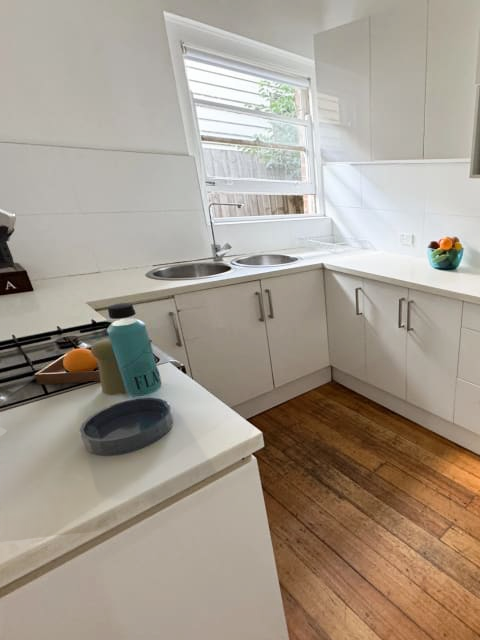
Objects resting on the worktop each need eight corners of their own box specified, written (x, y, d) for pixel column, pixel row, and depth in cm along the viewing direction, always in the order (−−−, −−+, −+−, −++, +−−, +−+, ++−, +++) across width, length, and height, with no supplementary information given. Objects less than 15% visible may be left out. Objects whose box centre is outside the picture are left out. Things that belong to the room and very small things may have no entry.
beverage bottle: (138, 406, 76) (108, 312, 68) (121, 397, 79) (91, 306, 71) (171, 392, 82) (147, 303, 74) (153, 384, 85) (129, 297, 77)
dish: (67, 459, 62) (60, 444, 61) (111, 413, 74) (106, 400, 73) (155, 451, 64) (151, 437, 63) (184, 408, 76) (181, 395, 75)
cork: (142, 384, 84) (129, 339, 80) (113, 397, 79) (96, 349, 75) (125, 378, 86) (111, 333, 82) (95, 390, 81) (79, 343, 77)
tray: (37, 384, 83) (33, 374, 82) (70, 361, 93) (67, 352, 92) (105, 381, 85) (102, 371, 84) (130, 359, 95) (127, 350, 94)
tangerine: (66, 376, 86) (53, 368, 81) (74, 352, 89) (63, 342, 83) (98, 379, 88) (88, 371, 83) (105, 355, 91) (96, 345, 85)
